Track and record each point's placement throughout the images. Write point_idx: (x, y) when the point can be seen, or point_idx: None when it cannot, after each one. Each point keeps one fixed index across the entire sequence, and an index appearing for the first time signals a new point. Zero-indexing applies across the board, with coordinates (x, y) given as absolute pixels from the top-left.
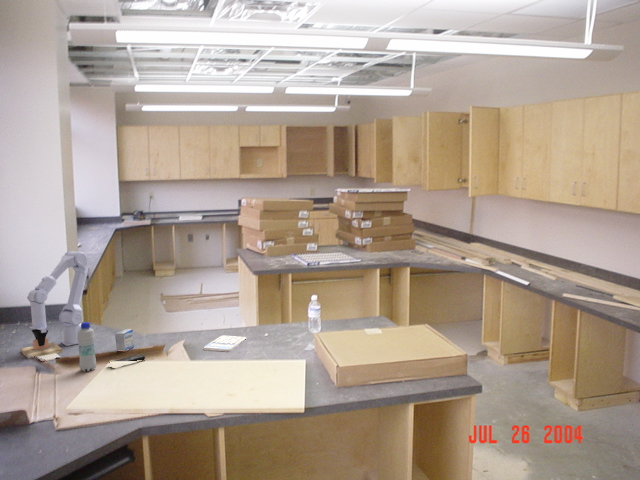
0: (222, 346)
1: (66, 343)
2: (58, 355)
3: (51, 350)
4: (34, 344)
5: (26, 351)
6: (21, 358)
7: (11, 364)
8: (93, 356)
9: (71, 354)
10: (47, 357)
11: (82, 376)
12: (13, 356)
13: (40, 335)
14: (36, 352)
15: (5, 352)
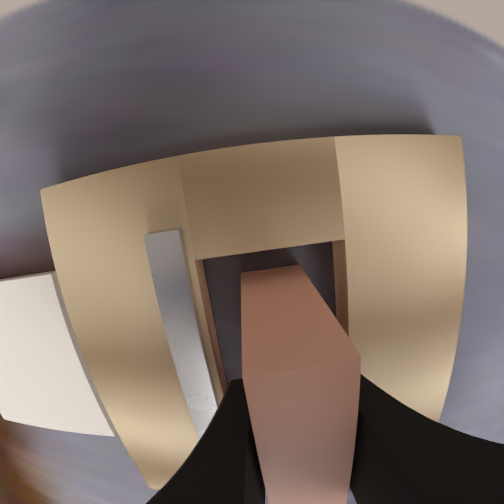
0: None
1: (352, 500)
2: (38, 425)
3: (133, 434)
4: (242, 337)
5: (265, 175)
6: (128, 110)
7: (6, 48)
8: None
9: (74, 477)
10: (7, 354)
11: None
12: (285, 33)
13: None
14: (124, 298)
15: (472, 29)
